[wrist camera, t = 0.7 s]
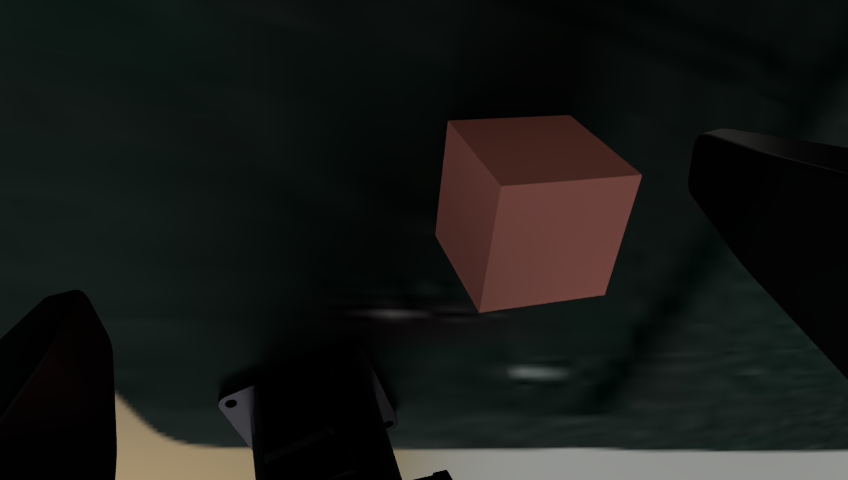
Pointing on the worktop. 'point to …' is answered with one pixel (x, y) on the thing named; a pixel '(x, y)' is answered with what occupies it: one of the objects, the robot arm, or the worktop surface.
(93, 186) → the worktop surface
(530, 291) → the red cube
